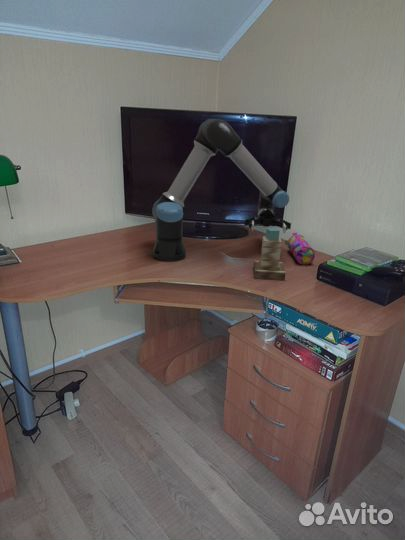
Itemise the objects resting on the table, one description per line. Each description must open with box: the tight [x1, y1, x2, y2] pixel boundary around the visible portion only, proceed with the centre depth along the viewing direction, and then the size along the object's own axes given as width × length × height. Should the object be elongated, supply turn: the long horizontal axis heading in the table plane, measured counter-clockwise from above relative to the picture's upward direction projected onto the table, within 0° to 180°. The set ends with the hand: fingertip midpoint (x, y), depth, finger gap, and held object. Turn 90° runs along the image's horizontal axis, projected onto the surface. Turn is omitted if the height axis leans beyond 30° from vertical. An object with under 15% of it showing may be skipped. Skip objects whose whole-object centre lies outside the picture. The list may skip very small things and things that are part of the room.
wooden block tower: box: [258, 235, 282, 271], centre depth 157 cm, size 8×7×12 cm
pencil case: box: [284, 232, 316, 266], centre depth 179 cm, size 22×9×9 cm, turn 1°
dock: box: [253, 260, 286, 281], centre depth 159 cm, size 12×12×3 cm
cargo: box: [265, 227, 280, 241], centre depth 154 cm, size 4×4×4 cm
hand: (268, 228), depth 164 cm, fingers open, 13 cm apart
